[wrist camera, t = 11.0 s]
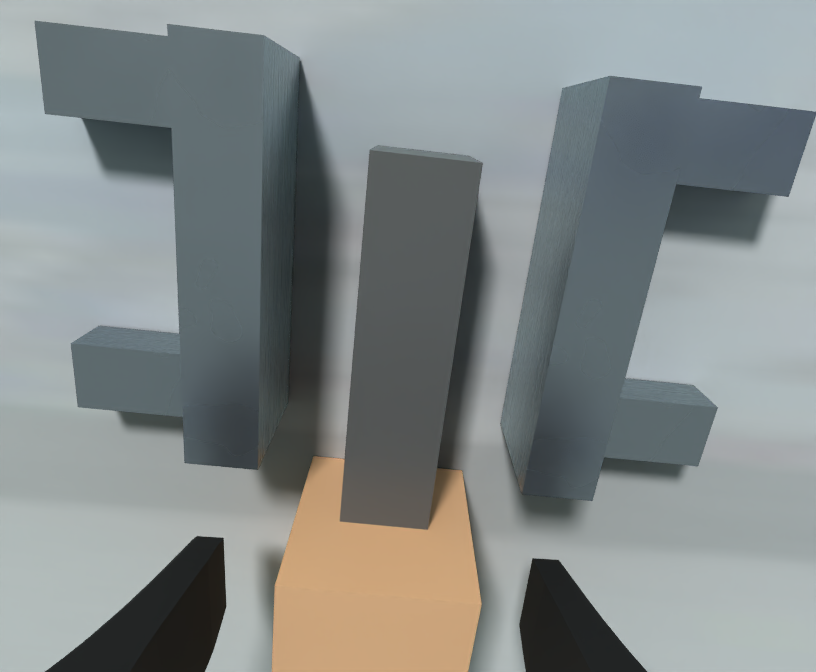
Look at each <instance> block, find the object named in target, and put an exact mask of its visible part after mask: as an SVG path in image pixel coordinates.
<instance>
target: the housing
mask: <svg viewBox="0 0 816 672" xmlns="http://www.w3.org/2000/svg"><path fill="white" fill-rule="evenodd" d="M35 29H36V38H37V47H38V56H39V65H40V74H41V83H42V92H43V101H44V109H45V114H51V115H60V116H69V117H78V118H87V119H96V120H105V121H113V122H122V123H131V124H140V125H149V126H158V127H167V128H171V131H172V156H173V181H174V207H175V232H176V258H177V283H178V309H179V334H176V333H166V332H156V331H146V330H136V329H126V328H116V327H106V326H98V327H96V328H95V329H93V330H91V331H90V332H88V333H87V334H85V335H84V336H82V337H80V338H79V339H77V340H76V341H74V342H73V343H71V350H72V359H73V367H74V376H75V385H76V394H77V403H78V407H82V408H92V409H103V410H113V411H124V412H134V413H145V414H155V415H166V416H176V417H183V436H184V461H185V463H189V464H200V465H211V466H222V467H233V468H243V469H254V470H258V469H259V466H260V464H261V462H262V460H263V457H264V455H265V453H266V451H267V448H268V446H269V444H270V442H271V440H272V437H273V435H274V433H275V431H276V428H277V426H278V424H279V422H280V419H281V417H282V415H283V413H284V411H285V408H286V406H287V404H288V388H289V359H290V330H291V301H292V272H293V243H294V214H295V185H296V156H297V127H298V98H299V70H300V58H299V57H298V56H296V55H295V54H293V53H291V52H290V51H288V50H287V49H285V48H283V47H282V46H280V45H279V44H277V43H275V42H274V41H272V40H271V39H269V38H267V37H266V36H264V35H256V34H248V33H239V32H231V31H222V30H214V29H205V28H197V27H188V26H180V25H171V24H167V29H168V36H161V35H153V34H144V33H136V32H127V31H118V30H110V29H101V28H93V27H84V26H75V25H67V24H58V23H50V22H41V21H35ZM701 89H702V87H700V86H692V85H683V84H675V83H666V82H657V81H649V80H640V79H632V78H623V77H615V76H608V77H604V78H600V79H596V80H593V81H589V82H585V83H581V84H577V85H573V86H569V87H565V88H562V94H561V99H560V105H559V110H558V115H557V121H556V126H555V132H554V137H553V142H552V148H551V153H550V159H549V164H548V169H547V175H546V180H545V185H544V191H543V196H542V202H541V207H540V212H539V218H538V223H537V229H536V234H535V239H534V245H533V250H532V256H531V261H530V266H529V272H528V277H527V283H526V288H525V293H524V299H523V304H522V310H521V315H520V320H519V326H518V331H517V336H516V342H515V347H514V353H513V358H512V363H511V369H510V374H509V380H508V385H507V390H506V396H505V401H504V407H503V412H502V417H501V423H500V424H501V427H502V430H503V434H504V437H505V440H506V443H507V447H508V450H509V453H510V457H511V460H512V463H513V467H514V470H515V473H516V477H517V480H518V483H519V487H520V490H521V493H522V494H524V495H534V496H545V497H556V498H567V499H577V500H588V501H593V497H594V493H595V489H596V485H597V482H598V478H599V474H600V470H601V467H602V463H603V459H604V457H606V458H617V459H627V460H638V461H648V462H659V463H669V464H680V465H690V466H698V465H699V462H700V459H701V456H702V453H703V450H704V447H705V444H706V441H707V438H708V435H709V432H710V429H711V426H712V423H713V420H714V417H715V414H716V411H717V408H718V407H717V406H716V405H714V404H713V403H712V402H711V401H710V400H709V399H708V398H707V397H706V396H705V395H704V394H702V393H701V392H700V391H699V390H698V389H697V388H696V387H695V386H694V385H686V384H676V383H666V382H656V381H646V380H636V379H626V378H625V376H626V372H627V369H628V365H629V361H630V357H631V353H632V350H633V346H634V342H635V338H636V335H637V331H638V327H639V323H640V320H641V316H642V312H643V308H644V304H645V301H646V297H647V293H648V289H649V286H650V282H651V278H652V274H653V270H654V267H655V263H656V259H657V255H658V252H659V248H660V244H661V240H662V237H663V233H664V229H665V225H666V221H667V218H668V214H669V210H670V206H671V203H672V199H673V195H674V191H675V187H676V184H679V185H688V186H697V187H706V188H715V189H724V190H733V191H742V192H751V193H760V194H769V195H778V196H786V197H789V194H790V191H791V188H792V185H793V182H794V179H795V176H796V173H797V170H798V167H799V164H800V161H801V158H802V155H803V152H804V149H805V146H806V143H807V140H808V137H809V134H810V131H811V128H812V125H813V122H814V119H815V116H816V112H813V111H805V110H796V109H788V108H779V107H771V106H762V105H753V104H745V103H736V102H728V101H719V100H710V99H702V98H699V97H700V93H701Z"/></svg>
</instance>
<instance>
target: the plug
mask: <svg viewBox="0 0 816 672" xmlns="http://www.w3.org/2000/svg"><path fill="white" fill-rule="evenodd" d="M482 164H483V163H482V162H480V161H478V160H476V159H474V158H472V157H470V156H466V155H457V154H448V153H440V152H431V151H422V150H414V149H405V148H397V147H388V146H379V145H378V146H376V147H374V148H372V149H371V150H370V154H369V166H368V178H367V190H366V203H365V215H364V227H363V240H362V252H361V264H360V276H359V289H358V301H357V313H356V325H355V338H354V350H353V362H352V375H351V387H350V399H349V411H348V424H347V436H346V448H345V459H339V458H329V457H318V456H313V459H312V462H311V466H310V469H309V473H308V476H307V479H306V483H305V486H304V489H303V493H302V496H301V499H300V503H299V506H298V509H297V513H296V516H295V519H294V523H293V526H292V530H291V533H290V536H289V540H288V543H287V546H286V550H285V553H284V556H283V560H282V563H281V566H280V570H279V573H278V576H277V580H276V583H275V592H274V622H273V652H272V672H468V669H469V664H470V659H471V654H472V650H473V645H474V640H475V635H476V630H477V625H478V620H479V615H480V610H481V605H482V603H481V596H480V589H479V583H478V576H477V569H476V562H475V555H474V548H473V542H472V535H471V528H470V521H469V514H468V507H467V500H466V494H465V487H464V480H463V473H462V470H452V469H441V468H437V464H438V458H439V451H440V444H441V438H442V431H443V424H444V418H445V411H446V404H447V398H448V391H449V384H450V378H451V371H452V364H453V358H454V351H455V344H456V338H457V331H458V324H459V318H460V311H461V304H462V298H463V291H464V284H465V278H466V271H467V264H468V258H469V251H470V244H471V238H472V231H473V224H474V218H475V211H476V204H477V198H478V191H479V184H480V178H481V171H482Z"/></svg>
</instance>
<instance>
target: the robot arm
mask: <svg viewBox="0 0 816 672" xmlns="http://www.w3.org/2000/svg"><path fill="white" fill-rule="evenodd" d="M225 609H226V588H225V564H224V540H223V538H216V537H201V536H197V537H195V538H194V539H193V540H192V541H191V542H190V543H189V544H188V545H187V546H186V547H185V548H184V549H183V550H182V551H181V552H180V553H179V554H178V555H177V556H176V557H175V558H174V559H173V560H172V561H171V562H170V563H169V564H168V565H167V566H166V567H165V568H164V569H163V570H162V571H161V572H160V573H159V574H158V575H157V576H156V577H155V578H154V579H153V580H152V581H151V582H150V583H149V584H148V585H147V586H146V587H145V588H144V589H142V590H141V591H140V592H139V593H138V594H137V595H136V596H135V597H134V598H133V599H132V600H131V601H130V602H129V603H128V604H127V605H125V606H124V607H123V608H122V609H121V610H120V611H119V612H118V613H117V614H115V615H114V616H113V617H112V618H111V619H110V620H108V621H107V622H106V623H105V624H104V625H103V626H102V627H100V628H99V629H98V630H97V631H96V632H95V633H93V634H92V635H91V636H90V637H89V638H88V639H86V640H85V641H84V642H83V643H81V644H80V645H79V646H78V647H77V648H75V649H74V650H73V651H72V652H70V653H69V654H68V655H66V656H65V657H64V658H63V659H61V660H60V661H59V662H57V663H56V664H55V665H53V666H52V667H51V668H49V669H48V670H47V671H45V672H205V670H206V668H207V665H208V663H209V660H210V658H211V655H212V653H213V650H214V647H215V643H216V640H217V637H218V633H219V630H220V627H221V623H222V620H223V616H224V613H225ZM520 633H521V640H522V648H523V655H524V662H525V668H526V672H647V671H646V670H645V669H644V668H643V666H642V665H641V664H640V663H639V662H638V661H637V660H636V659H635V657H634V656H633V655H632V654H631V653H630V652H629V650H628V649H627V648H626V647H625V646H624V644H623V643H622V642H621V641H620V640H619V638H618V637H617V636H616V635H615V633H614V632H613V631H612V630H611V628H610V627H609V626H608V625H607V624H606V622H605V621H604V620H603V619H602V617H601V616H600V615H599V613H598V612H597V611H596V610H595V608H594V607H593V606H592V604H591V603H590V602H589V600H588V599H587V598H586V596H585V595H584V594H583V592H582V591H581V590H580V588H579V587H578V586H577V584H576V583H575V581H574V580H573V579H572V577H571V576H570V575H569V573H568V572H567V571H566V569H565V568H564V566H563V565H562V564H561V563H560V561H559V560H549V559H534V558H533V559H532V564H531V569H530V574H529V579H528V584H527V589H526V594H525V599H524V604H523V609H522V614H521V619H520Z"/></svg>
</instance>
